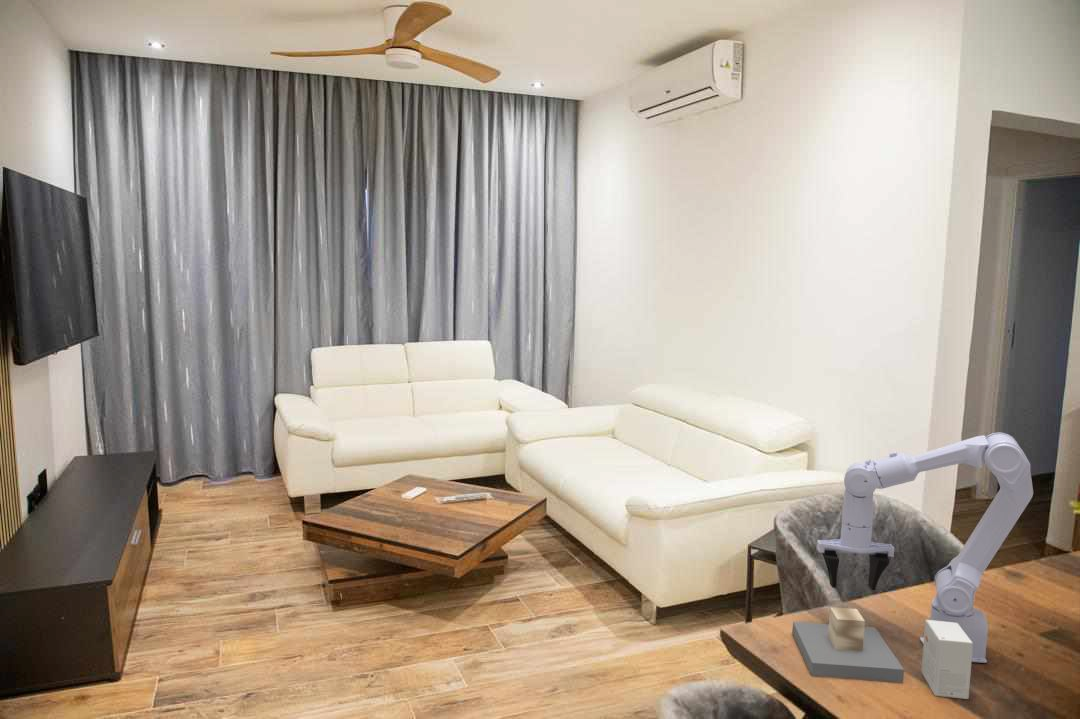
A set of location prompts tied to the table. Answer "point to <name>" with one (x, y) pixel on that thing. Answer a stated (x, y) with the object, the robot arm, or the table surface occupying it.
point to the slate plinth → (846, 655)
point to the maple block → (846, 629)
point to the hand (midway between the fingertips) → (852, 587)
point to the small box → (947, 659)
